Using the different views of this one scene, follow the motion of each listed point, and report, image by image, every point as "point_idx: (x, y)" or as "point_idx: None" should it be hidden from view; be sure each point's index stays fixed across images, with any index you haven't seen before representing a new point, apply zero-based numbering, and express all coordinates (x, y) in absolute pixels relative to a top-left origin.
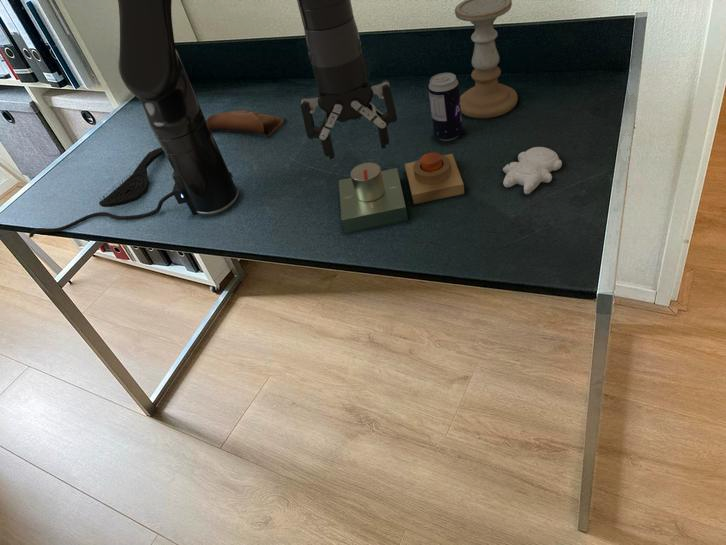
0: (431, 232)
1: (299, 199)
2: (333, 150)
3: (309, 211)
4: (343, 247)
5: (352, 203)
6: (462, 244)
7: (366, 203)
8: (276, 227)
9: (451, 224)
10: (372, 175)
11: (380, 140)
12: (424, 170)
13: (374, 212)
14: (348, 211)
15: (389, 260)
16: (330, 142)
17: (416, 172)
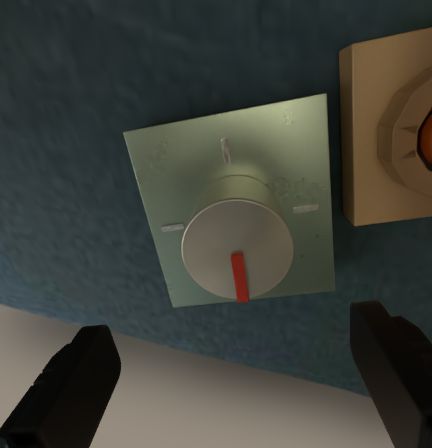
0: None
1: (18, 134)
2: (101, 341)
3: (68, 193)
4: (184, 319)
5: None
6: None
7: None
8: (8, 238)
9: (418, 293)
10: (265, 281)
11: (374, 400)
12: (427, 159)
13: (253, 297)
14: (184, 282)
15: (277, 360)
16: (79, 440)
17: (398, 171)
